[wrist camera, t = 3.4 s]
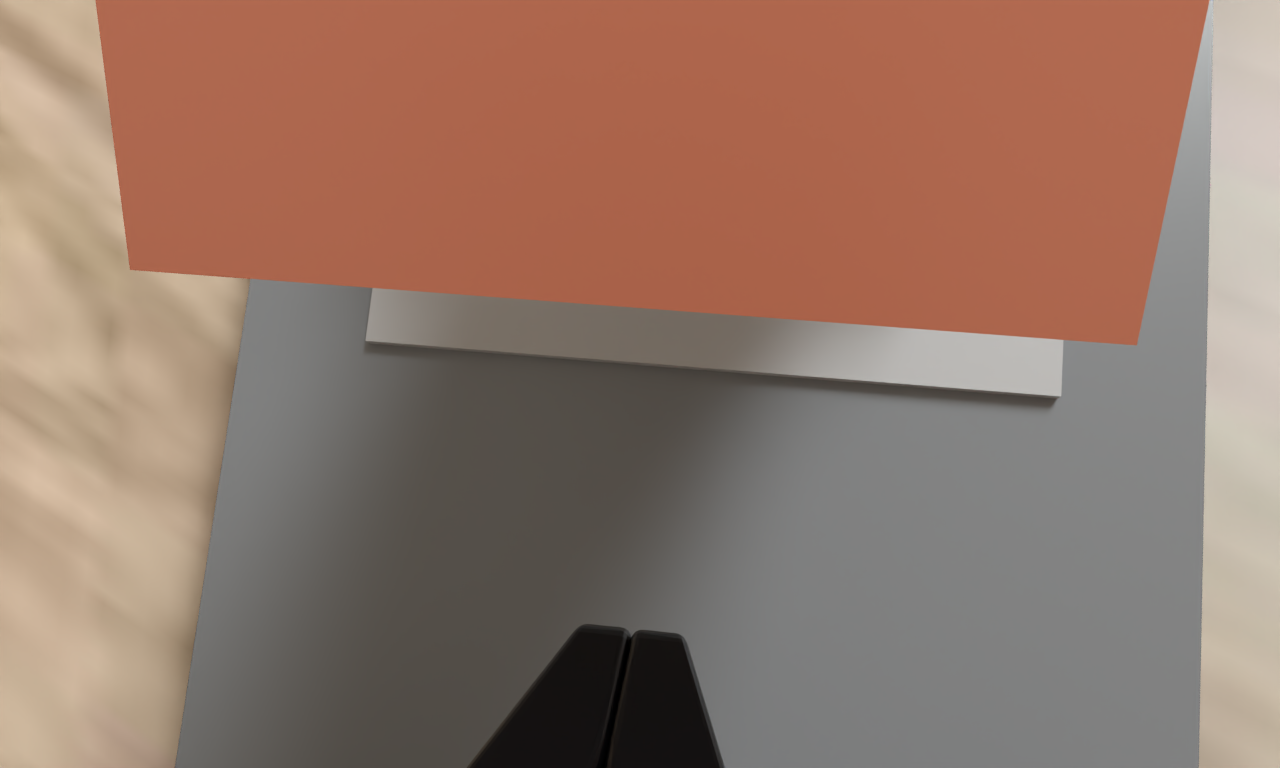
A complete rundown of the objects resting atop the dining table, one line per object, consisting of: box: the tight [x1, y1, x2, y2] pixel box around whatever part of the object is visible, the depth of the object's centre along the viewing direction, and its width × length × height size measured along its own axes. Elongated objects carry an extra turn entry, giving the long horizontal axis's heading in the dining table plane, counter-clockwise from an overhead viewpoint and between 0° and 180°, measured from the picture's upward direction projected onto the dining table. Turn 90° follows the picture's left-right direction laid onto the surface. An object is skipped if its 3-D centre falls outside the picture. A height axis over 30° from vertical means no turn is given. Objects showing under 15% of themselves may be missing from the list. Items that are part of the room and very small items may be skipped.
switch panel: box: [175, 0, 1213, 768], centre depth 15 cm, size 18×14×4 cm
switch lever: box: [96, 0, 1210, 345], centre depth 10 cm, size 2×5×10 cm, turn 87°
